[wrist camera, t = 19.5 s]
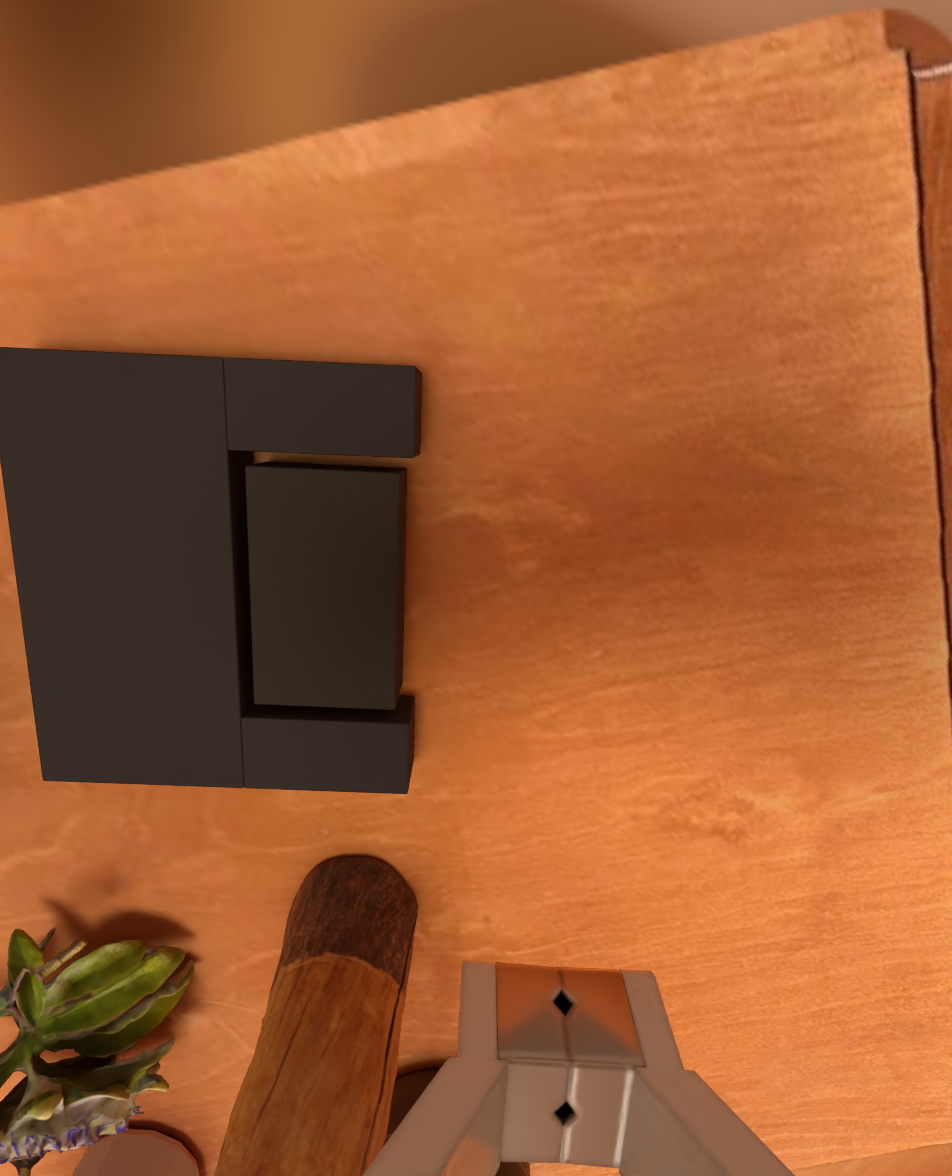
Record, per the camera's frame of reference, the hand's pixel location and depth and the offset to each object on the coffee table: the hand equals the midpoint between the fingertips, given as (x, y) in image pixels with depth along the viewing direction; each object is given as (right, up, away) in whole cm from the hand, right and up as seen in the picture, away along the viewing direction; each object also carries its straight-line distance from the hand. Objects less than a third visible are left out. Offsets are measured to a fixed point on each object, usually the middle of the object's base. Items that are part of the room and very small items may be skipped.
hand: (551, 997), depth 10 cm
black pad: (-7, +7, +19) cm, 22 cm away
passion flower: (-22, -15, +25) cm, 36 cm away
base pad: (-12, +7, +19) cm, 24 cm away
